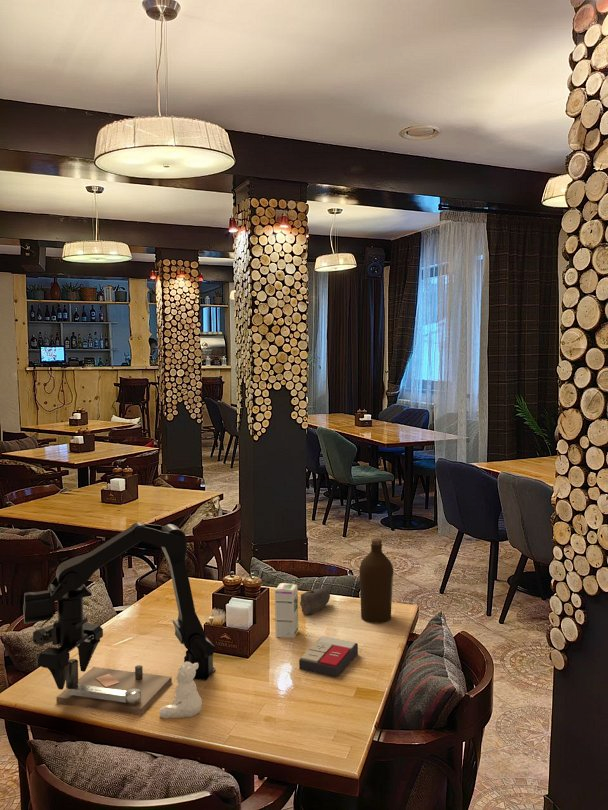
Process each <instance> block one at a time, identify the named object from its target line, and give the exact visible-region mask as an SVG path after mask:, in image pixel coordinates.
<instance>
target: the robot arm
mask: <svg viewBox="0 0 608 810" xmlns="http://www.w3.org/2000/svg"><path fill="white" fill-rule="evenodd" d="M187 540H188V539H187V535H186V533H185V532H184V531H183V530H181V528H179V527H178V526H177V525H175V524H171V523H168V524H165V525H159V524H151V523H144V522H141V521H138V522H135V523H134V522H133V524H131V526H129V527H127V528H126V529H124V530H123V531H121V532H119V533H118V534H116V535H115V536H114V537H112V538H110V539H108V540H107V541H105V542H103V543H102V544H101V545H99V546H98V547H96V548H94V549H92V550H91V551H89V552H88V553H84V554H81V555H80V554H79V555H77V556H74V557H72V558H69V559H66V560H64V561H63V562H61V563H60V564H59V565H58V566H57V568H56V571H55V577H54V578H53V579H52V581H51V582H50V583H49V585H48V587H47V590H41V591H27V592H24V595H23V604H22V605H23V606H22V611H23V623H24V624H31V623H37V622H43V621H44V622H45V621H50V620H51V618H53V617H54V615H56V602H57V620H56V621H54V623H53V624H50V625H47V626H44V627H41V628H37V629H36V630H34V631H32V642H33V643H34V645H36V646H37V645H38V646H39V647H42V646H44V645H46V644H49V643H51V644H52V646H53V645H54V646H57V645H59V646H60V647H59V648H58V647H51V646H49V647H48V648H46V649H45V650H42V651H41V652H39V654H38V655H37V656H36V666H37V667H41V668H46V669H47V670H49V672H50V674H51V675H52V678H53V680H54V682H55V684H56V687H57V689H58V690H60V691H61V690H62V691H63V689H64V687H65V686H66V677H67V673H68V669H69V665H70V662H68V661H69V660H70V658H71V657H70V656H71V655H70V653H71V651H73V650H74V649H76V648H77V651H78V663H79V668H80V672H83V673H86V671H87V668H88V667H89V664H90V661H91V659H92V657H93V655H94V653H95V650H96V648H97V646H98V644H99V643H100V641H101V638H103V637H104V629H103V628H102V627H101V625H99V624H91V623H90V624H89V623H87V622H88V617H87V616H85V615H84V598H87V597H91V596H92V594H93V593H92V591H91V589H90V588H88V587H87V586H86V585H85V583H87V582H88V581H89V580H90V579H91V578H92V576H93V575H94V574H95V573H96V572H97V571H98V570H99V569H100V568H102V567H103V566H105V565H106V564H108V563H109V562H111V561H112V560H114V559H115V558H118V556H120V555H122V554H124V553H125V552H126V551H128V550H130V549H131V548H133V547H134V546H136V545H138V544H139V543H141V542H143V543H148V544H149V545H150V544H151V545H155V546H157V547H160V548H161V549H162V552H163V553H164V556H165V558H166V560H167V562H168V566H169V572H170V576H171V583H172V585H173V586H172V588H173V591H174V596H175V601H176V606H177V611H178V616H177V619H175V620H172V624H173V626H174V631H175V632H174V635H175V637H176V638H177V639H178V641H179V643H180V644H181V645H183V646H184V647H185V649H186V651H185V656H184V657H183V663H184V662H187V661H188V662H191V663H192V664H194V663H198V665H199V666H198V669H196V674H195V677H194V678H193V680H199V681H207V680H208V679H210V677H211V676H212V675H213V674H214V672H215V671H216V667H214V652H215V651H216V646H215V645H214V644H213V643H212V641H211V640H210V639H209V638H208V636H207V635H206V633H205V632H206V631H205V630H204V627H203V625H202V623H201V621H200V619H199V617H198V615H197V612H196V608H195V604H194V598H193V593H192V589H191V588H192V587H191V583H190V577H189V574H188V568H187V567H188V566H187V563H186V558H187V552H188V545H187V544H188V543H187V542H188V541H187Z"/></svg>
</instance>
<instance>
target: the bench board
mask: <svg viewBox="0 0 608 810" xmlns="http://www.w3.org/2000/svg"><path fill="white" fill-rule="evenodd" d="M143 667H144V666H143V665H141V664H139V665H136V666H134V671H128V670H120V669H111V668H107V667H106V668H104V667H98V666H97V667H96V666H93V667H92V668H90V669H89V670H88V671H87V672H84V674H83V675H82V676H80V677H78V684H80V685H87V686H95V687H102V688H110V689H117V690H125V691H127V690H130V689H140V690H141V702H139V703H138V704H134V705H129V704H126V703H125V702H118V701H111V700H104V699H96V698H89V697H82V696H75V695H69V689H67V688H66V689H64V690H62V692H61V693H59V694H58V695H57V696H55V697H56V698H55V699H56V704H61V705H67V706H74V707H81V708H88V707H89V708H90V709H95V710H101V711H102V710H103V711H108V712H109V711H110V712H117V713H124V714H130V715H137V716H142V715H143V714H144V713H145V712H146V711H147V710H148V709H149V707H151V706H152V705H153V703H154V702H155V701H156V700H157V699H158V698H159V697H160V696H161V694H163V693H164V692H165V690H167V688H168V687H169V686H170V685H171V684H172V683H171V682H173V681H172V680H173V678H172V676H169V675H167V676H166V675H160V674H152V673H146V672H145V673H144V672H143ZM170 683H171V684H170Z"/></svg>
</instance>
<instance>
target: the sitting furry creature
mask: <svg viewBox="0 0 608 810" xmlns="http://www.w3.org/2000/svg"><path fill="white" fill-rule="evenodd" d="M198 666H199V665H198V663H194V664H192V663H191V662H188V661H187V662H184V661H183V663H181V665H180V667H179V668H178V672H177V675H176V677H175V680H176V681H177V683H178V684H177V686H176V689H175V696H174V700H173V703H170V704H165V705H164V706H161V707H160V709H159V713H158V714H159V715H158V716H159V717H160V718H161V719H182V718H192V717H195V716H196V715H198V713H200V711H201V710H202V706H203V700H202V698H201V696H200V694H199V692H198V690H197V689H198V687H197V685H196V682H195V681H194V679H193V678H194V677H195V674H196V669H198Z"/></svg>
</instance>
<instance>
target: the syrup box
mask: <svg viewBox="0 0 608 810" xmlns="http://www.w3.org/2000/svg"><path fill="white" fill-rule="evenodd" d="M298 590H299V589H298V584H296V583H289V582H287V583H283V582H281V583H278V585H277V587H276V588H275V589H274V613H275V614H274V615H275V622H274V623H275V637H277V638H282V639H283V638H284V639H294V638H295V637H296V636H297V634H298V632H299V602H298V601H299V596H298Z"/></svg>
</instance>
